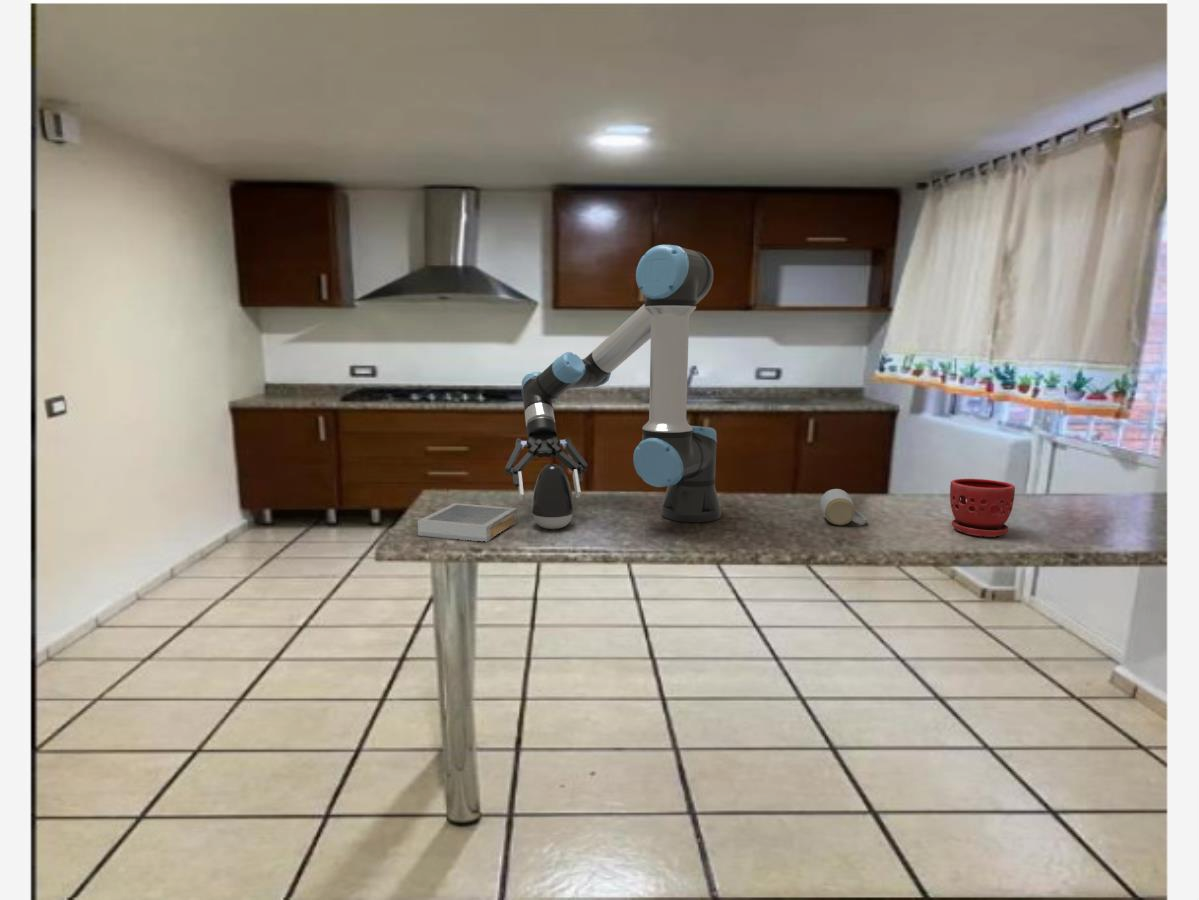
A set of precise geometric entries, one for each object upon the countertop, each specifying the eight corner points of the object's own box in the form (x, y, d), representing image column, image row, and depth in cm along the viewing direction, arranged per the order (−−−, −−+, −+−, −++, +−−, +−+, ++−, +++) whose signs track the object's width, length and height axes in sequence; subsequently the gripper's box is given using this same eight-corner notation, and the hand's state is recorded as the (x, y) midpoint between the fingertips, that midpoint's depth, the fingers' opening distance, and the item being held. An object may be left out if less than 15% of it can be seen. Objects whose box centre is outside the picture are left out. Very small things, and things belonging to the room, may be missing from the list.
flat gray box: (518, 522, 162) (518, 508, 162) (488, 542, 146) (487, 527, 145) (453, 516, 167) (452, 502, 166) (416, 535, 151) (416, 520, 150)
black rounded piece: (581, 523, 162) (581, 461, 159) (562, 534, 152) (561, 469, 150) (545, 518, 166) (544, 458, 163) (523, 529, 157) (522, 465, 154)
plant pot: (1016, 532, 157) (1022, 482, 155) (1000, 543, 148) (1006, 491, 146) (956, 521, 166) (961, 474, 164) (938, 531, 157) (943, 481, 155)
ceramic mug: (823, 525, 161) (826, 495, 160) (818, 516, 169) (821, 487, 168) (869, 529, 159) (872, 498, 158) (862, 520, 167) (865, 490, 166)
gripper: (586, 432, 176) (598, 501, 164) (491, 435, 170) (496, 506, 158) (590, 415, 170) (603, 485, 158) (492, 417, 164) (498, 490, 152)
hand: (550, 496), depth 158 cm, fingers open, 13 cm apart
